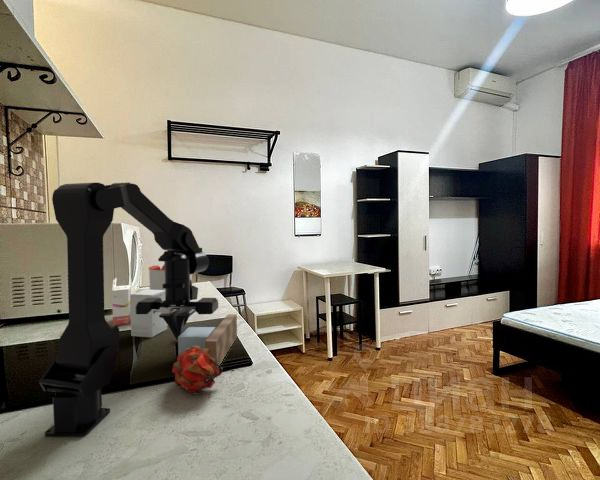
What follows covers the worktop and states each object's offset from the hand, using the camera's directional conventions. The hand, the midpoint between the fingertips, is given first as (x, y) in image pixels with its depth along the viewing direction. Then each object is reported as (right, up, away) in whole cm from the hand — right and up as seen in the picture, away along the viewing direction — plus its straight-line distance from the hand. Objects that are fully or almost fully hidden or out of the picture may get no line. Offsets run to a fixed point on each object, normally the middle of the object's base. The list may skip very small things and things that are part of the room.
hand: (178, 339), depth 75 cm
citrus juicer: (-20, -2, +42) cm, 47 cm away
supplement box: (-16, -4, +16) cm, 23 cm away
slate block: (+5, -4, 0) cm, 6 cm away
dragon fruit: (+10, -5, -15) cm, 18 cm away
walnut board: (+11, -4, +1) cm, 12 cm away
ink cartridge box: (-30, -3, +28) cm, 41 cm away
